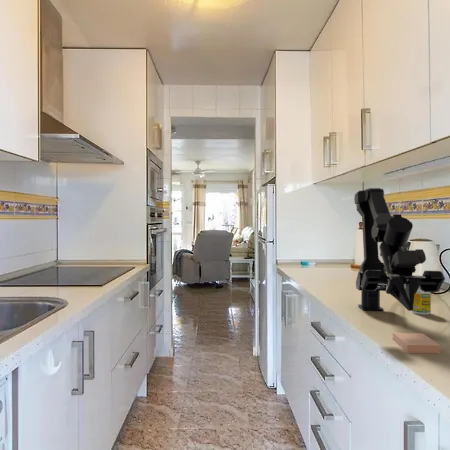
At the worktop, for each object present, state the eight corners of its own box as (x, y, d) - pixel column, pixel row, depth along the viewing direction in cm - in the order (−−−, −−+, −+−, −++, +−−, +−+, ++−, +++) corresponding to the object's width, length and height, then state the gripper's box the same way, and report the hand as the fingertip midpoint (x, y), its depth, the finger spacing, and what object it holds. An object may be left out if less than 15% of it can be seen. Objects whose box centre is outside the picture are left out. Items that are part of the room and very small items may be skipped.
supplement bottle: (420, 310, 127) (420, 280, 127) (434, 314, 123) (434, 283, 122) (407, 312, 125) (407, 281, 125) (422, 315, 120) (422, 284, 120)
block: (392, 333, 96) (407, 344, 87) (422, 333, 95) (440, 345, 86) (392, 341, 96) (407, 354, 87) (422, 342, 95) (440, 355, 86)
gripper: (364, 237, 99) (378, 289, 89) (441, 238, 98) (465, 290, 87) (356, 265, 107) (367, 316, 96) (427, 266, 106) (447, 317, 95)
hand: (410, 309), depth 94 cm, fingers closed
